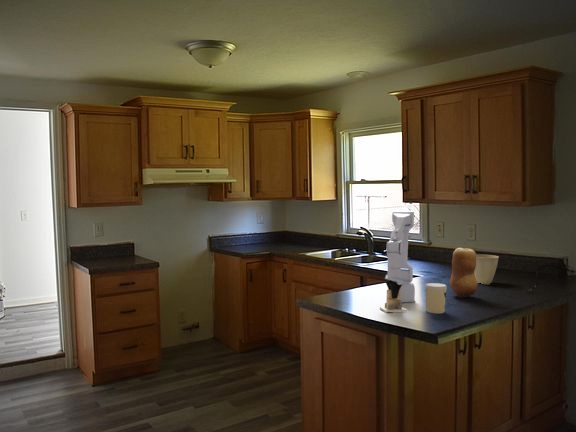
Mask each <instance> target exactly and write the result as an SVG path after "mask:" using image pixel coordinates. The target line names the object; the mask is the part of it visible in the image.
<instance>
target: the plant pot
mask: <svg viewBox="0 0 576 432" xmlns="http://www.w3.org/2000/svg"><path fill="white" fill-rule="evenodd" d="M499 257H500V256H498V255H492V254H476V268H475V272H474V274H475V277H476V280H477V284H479V283H481V284H480V285H491V284H492V282H493V281H494V276H495V274H496V270H497V268H498V265H499V264H498V263H499V259H500V258H499ZM490 283H491V284H490Z"/></svg>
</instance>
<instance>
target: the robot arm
mask: <svg viewBox="0 0 576 432" xmlns="http://www.w3.org/2000/svg"><path fill="white" fill-rule="evenodd" d="M391 215H392V216H391V221H392V224H393V226H394V229H393V230H392V231H391V233H390V238H389V240H388V241H387V242H386V249H385V250H386V258H387V274H385V277H384V280H387V281H385V285H386V286H387V290H391V293H392V298H393V299H394V298H397V297H398V293H399V290H401V303H414V302H416V300H415V299H416V298H415V295H416V289H415V288H416V287H415V284H414V282H413V279H414V278H413V277H414V272H413V270H414V269H413V267H412V265H411V264H409V263H408V255H409V253H408V250H409V235H410V230H411V229H414V224H415V212H414V211H413V210H393V211H392V214H391Z"/></svg>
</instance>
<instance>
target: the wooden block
mask: <svg viewBox="0 0 576 432" xmlns="http://www.w3.org/2000/svg"><path fill="white" fill-rule="evenodd" d="M385 303H386V307H387V308H389V305H394V308H397V305H402V304H401V303H402V302H401V290H399V293H398V297H397V298H394V299H393V298H392V293H391V290H388V289H386V302H385Z"/></svg>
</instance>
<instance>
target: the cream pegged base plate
mask: <svg viewBox="0 0 576 432" xmlns="http://www.w3.org/2000/svg"><path fill="white" fill-rule="evenodd" d="M380 309H381V310H380ZM379 310H380V311H383V312H384V313H385V312H386V314H388V313H387V312H393V313H407V312H408V309H407V308H405V307H404V306H403V304H401V305H397V308H394V305H389V308H387V307H386V302H385V303H384V306H380V307H379Z"/></svg>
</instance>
